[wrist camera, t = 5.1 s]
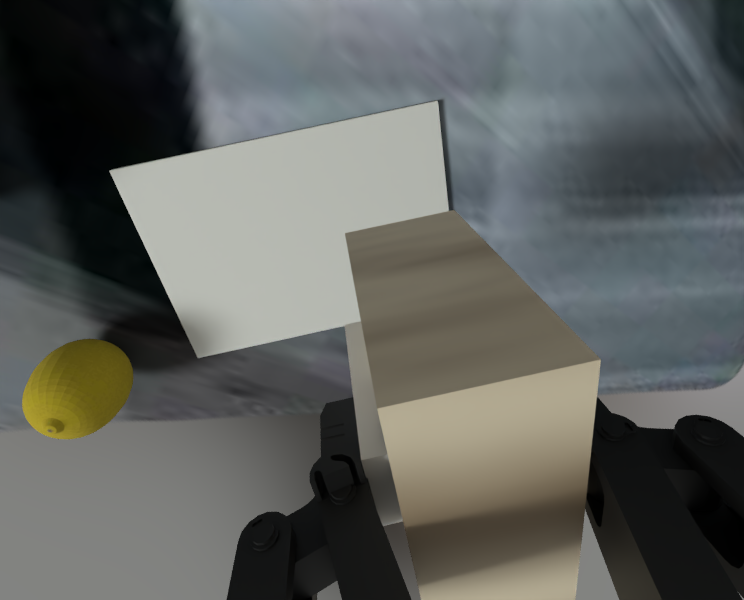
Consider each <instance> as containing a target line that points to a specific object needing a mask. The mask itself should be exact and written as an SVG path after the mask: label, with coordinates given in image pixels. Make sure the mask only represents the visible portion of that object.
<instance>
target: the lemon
mask: <svg viewBox="0 0 744 600" xmlns="http://www.w3.org/2000/svg"><path fill="white" fill-rule="evenodd" d="M132 384H133V369H132V366H131V363H130V360H129V359H128V357H127V356H126V354H125V353H124V352H123V351H122V350H121V349H120V348H119V347H117V346H115V345H113V344H112V343H109V342H106V341H103V340H97V339H82V340H77V341H73V342H70V343H67V344H65V345H63V346H61V347H60V348H58V349H56V350H54V351H53V352H51V353H50V354H49V355H48V356H47V357H46V358H44V360H43V361H42V362H41V363H40V364H39V365H38V366H37V367H36V368H35V370H34V371H33V373H32V374H31V376H30V378H29V380H28V383H27V385H26V387H25V390H24V393H23V399H22V407H23V412H24V414H25V417H26V419H27V421H28V422H29V423H30V425H31V426H32V427H33V428H35V429H36V430H37V431H38V432H40V433H42V434H43V435H46V436H49V437H52V438H57V439H74V438H80V437H84V436H86V435H89V434H91V433H94V432H95V431H97V430H99V429H100V428H102V427H103V426H105V425H106V424H107V423H108V422H109V421H111V420H112V419H113V418H114V417H115V415H116V414H117V413H118V412H119V410H120V409H121V408H122V407H123V405H124V404H125V402H126V401H127V399H128V396H129V394H130V391H131V388H132Z"/></svg>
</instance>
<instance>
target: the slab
mask: <svg viewBox="0 0 744 600" xmlns="http://www.w3.org/2000/svg"><path fill="white" fill-rule="evenodd" d="M345 237H346V243H347V248H348V254H349V259H350V264H351V270H352V275H353V281H354V286H355V292H356V297H357V302H358V308H359V313H360V319H361V324H362V330H363V335H364V340H365V346H366V351H367V357H368V362H369V367H370V373H371V378H372V384H373V389H374V395H375V400H376V405H377V410H378V415H379V419H380V423H381V428H382V432H383V436H384V441H385V445H386V449H387V454H388V458H389V462H390V467H391V471H392V475H393V480H394V484H395V488H396V493H397V497H398V501H399V506H400V510H401V514H402V518H403V523H404V527H405V531H406V536H407V540H408V544H409V549H410V553H411V557H412V561H413V566H414V570H415V575H416V579H417V583H418V588H419V592H420V596H421V600H575V597H576V588H577V578H578V569H579V560H580V551H581V541H582V532H583V523H584V513H585V504H586V494H587V485H588V476H589V466H590V457H591V447H592V438H593V429H594V419H595V410H596V400H597V391H598V382H599V372H600V363H601V359H600V358H599V357H598V356H597V355H596V354H595V353H594V352H593V351H592V350H591V349H590V348H589V347H588V346H587V345H586V344H585V343H584V342H583V341H582V340H581V339H580V338H579V337H578V336H577V335H576V334H575V333H574V332H573V331H572V330H571V329H570V328H569V326H568V325H567V324H566V323H565V322H564V321H563V320H562V319H561V318H560V317H559V316H558V315H557V314H556V313H555V312H554V311H553V310H552V309H551V308H550V307H549V306H548V305H547V304H546V303H545V302H544V301H543V300H542V299H541V298H540V297H539V296H538V295H537V294H536V293H535V292H534V291H533V290H532V289H531V288H530V287H529V286H528V285H527V284H526V283H525V282H524V281H523V280H522V279H521V278H520V276H519V275H518V274H517V273H516V272H515V271H514V270H513V269H512V268H511V267H510V266H509V265H508V264H507V263H506V262H505V261H504V260H503V259H502V258H501V257H500V256H499V255H498V254H497V253H496V252H495V251H494V250H493V249H492V248H491V247H490V246H489V245H488V244H487V243H486V242H485V241H484V240H483V239H482V238H481V237H480V236H479V235H478V234H477V233H476V232H475V231H474V230H473V229H472V228H471V227H470V225H469V224H468V223H467V222H466V221H465V220H464V219H463V218H462V217H461V216H460V215H459V214H458V213H457V212H456V211H455V210H452V211H447V212H442V213H438V214H433V215H428V216H423V217H419V218H414V219H409V220H405V221H400V222H395V223H390V224H386V225H381V226H376V227H372V228H367V229H362V230H357V231H353V232H348V233H345Z"/></svg>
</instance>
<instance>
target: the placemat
mask: <svg viewBox="0 0 744 600" xmlns="http://www.w3.org/2000/svg"><path fill="white" fill-rule="evenodd" d="M110 174H111V176H112V178H113V180H114V182H115V184H116V186H117V188H118V190H119V193H120V195H121V197H122V199H123V201H124V203H125V205H126V207H127V209H128V212H129V214H130V216H131V218H132V220H133V222H134V224H135V226H136V228H137V231H138V233H139V235H140V237H141V239H142V241H143V243H144V245H145V248H146V250H147V252H148V254H149V256H150V258H151V260H152V262H153V264H154V267H155V269H156V271H157V273H158V275H159V277H160V279H161V281H162V283H163V286H164V288H165V290H166V292H167V294H168V296H169V298H170V300H171V302H172V305H173V307H174V309H175V311H176V313H177V315H178V317H179V319H180V322H181V324H182V326H183V328H184V330H185V332H186V334H187V336H188V338H189V341H190V343H191V345H192V347H193V349H194V351H195V353H196V355H197V357H198V358H201V357H206V356H210V355H215V354H219V353H224V352H228V351H233V350H237V349H242V348H246V347H251V346H255V345H260V344H264V343H269V342H274V341H278V340H283V339H287V338H292V337H296V336H301V335H305V334H310V333H314V332H319V331H323V330H328V329H332V328H337V327H342V326H345V325H346V324H350V323H355V322H359V321H361V319H360V313H359V308H358V302H357V297H356V292H355V286H354V281H353V275H352V270H351V264H350V259H349V254H348V248H347V243H346V237H345V233H348V232H353V231H357V230H362V229H367V228H372V227H376V226H381V225H386V224H390V223H395V222H400V221H405V220H409V219H414V218H419V217H423V216H428V215H433V214H438V213H442V212H447V211H449V208H448V197H447V187H446V177H445V167H444V157H443V147H442V137H441V127H440V117H439V107H438V101H431V102H427V103H422V104H417V105H413V106H408V107H403V108H398V109H394V110H389V111H384V112H380V113H375V114H370V115H366V116H361V117H356V118H351V119H347V120H342V121H337V122H333V123H328V124H323V125H319V126H314V127H309V128H304V129H300V130H295V131H290V132H286V133H281V134H276V135H272V136H267V137H262V138H257V139H253V140H248V141H243V142H239V143H234V144H229V145H225V146H220V147H215V148H210V149H206V150H201V151H196V152H192V153H187V154H182V155H178V156H173V157H168V158H163V159H159V160H154V161H149V162H145V163H140V164H135V165H131V166H126V167H121V168H116V169H112V170H110Z"/></svg>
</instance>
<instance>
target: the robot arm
mask: <svg viewBox="0 0 744 600" xmlns="http://www.w3.org/2000/svg"><path fill="white" fill-rule="evenodd" d="M345 332H346V340H347V348H348V357H349V365H350V373H351V381H352V390H353V398H348V399H344V400H339V401H335V402H330V403H326V405H325V407H324V409H323V411H322V413H321V415H320V422H321V423H320V425H321V457H320V458H319V459H318V461H317V462H316V463H315V464H314V465H313V467H312V469H311V471H310V483H311V486H312V489H313V491H314V494H315V497H314V498H313V499H312V500H311V501H310V502H309V503H308V504H307V505H305V506H304V507H302V508H301V509H299V510H297V511H295V512H294V513H292V514H290V515H288V516H285V515H283V514H281V513H279V512H266V513H264V514H261V515H258V516H257V517H256V518H255V519H253V520H252V521H250V522H249V523H248V525H247V526H246V527H245V528H244V530H243V531H242V533H241V535H240V538H239V541H238V545H237V550H236V555H235V560H234V565H233V570H232V576H231V580H230V586H229V591H228V596H227V600H317V593H318V592H319V591H321V590H323V589H324V588H326V587H327V586H329V585H331V584H332V583H334V582H335V581H338V585H339V589H340V593H341V597H342V600H411V597H410V595H409V592H408V590H407V587H406V585H405V582H404V579H403V577H402V574H401V572H400V569H399V567H398V564H397V561H396V559H395V556H394V554H393V551H392V549H391V546H390V543H389V541H388V538H387V535H386V533H385V531H384V528H383V525H388V524H393V523H397V522H401V521H403V518H402V514H401V510H400V506H399V501H398V497H397V493H396V488H395V484H394V480H393V475H392V471H391V467H390V462H389V458H388V454H387V449H386V445H385V441H384V436H383V432H382V428H381V423H380V419H379V415H378V410H377V405H376V400H375V395H374V389H373V384H372V378H371V373H370V367H369V362H368V357H367V351H366V346H365V340H364V335H363V330H362V324H361V321H359V322H355V323H350V324H346V325H345ZM585 509H586V512H587V515H588V517H589V520H590V523H591V525H592V528H593V531H594V533H595V536H596V539H597V542H598V544H599V547H600V549H601V552H602V555H603V557H604V560H605V563H606V565H607V568H608V571H609V573H610V576H611V578H612V581H613V584H614V587H615V589H616V592H617V595H618V597H619V600H742V598H741V597H740V595H741V596H742V597H743V598H744V437H743V436H742V435H740V434H739V433H738V432H737V431H735V430H734V429H733V428H732V427H730V426H728V425H727V424H725V423H724V422H722V421H720V420H717V419H714V418H711V417H708V416H701V415H690V416H685V417H683V418H681V419H679V420H678V422H677V423H676V425H675V429H654V428H642V427H637V426H636V424H635V423H634V422H632V421H631V420H629V419H627V418H626V417H623V416H620V415H617V414H614V413H611V412H610V411H609V410H608V409H607V407H606V406H605V405H604V404H603V403H602V402H601V401H600V399H599V398H598V397H597V400H596V410H595V419H594V429H593V438H592V447H591V457H590V466H589V476H588V485H587V494H586V504H585ZM737 591H738V592H739V593H740V595H739V593H738V592H737Z"/></svg>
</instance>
